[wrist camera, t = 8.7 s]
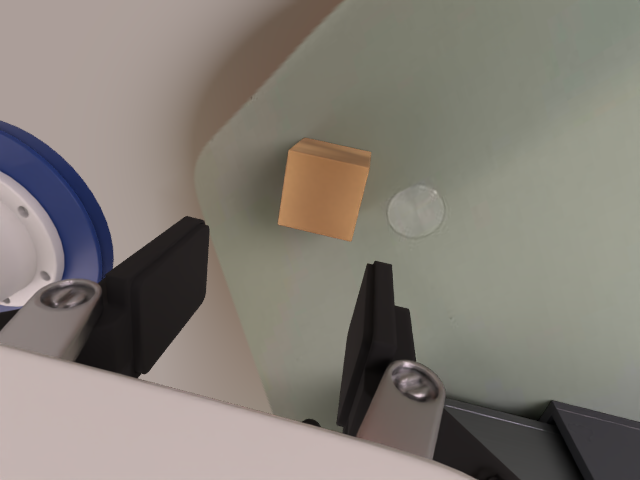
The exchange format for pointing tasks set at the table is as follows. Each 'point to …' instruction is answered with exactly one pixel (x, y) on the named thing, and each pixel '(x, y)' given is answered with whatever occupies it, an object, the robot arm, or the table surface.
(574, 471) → the pull-out drawer
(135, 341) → the robot arm
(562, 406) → the cabinet
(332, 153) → the block
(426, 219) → the table surface
